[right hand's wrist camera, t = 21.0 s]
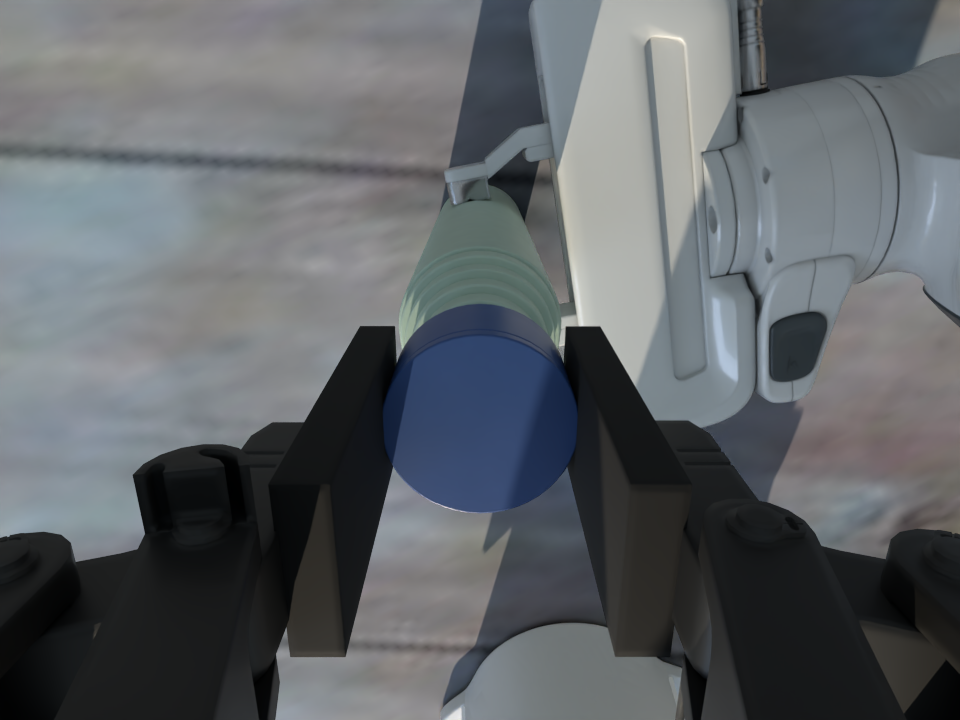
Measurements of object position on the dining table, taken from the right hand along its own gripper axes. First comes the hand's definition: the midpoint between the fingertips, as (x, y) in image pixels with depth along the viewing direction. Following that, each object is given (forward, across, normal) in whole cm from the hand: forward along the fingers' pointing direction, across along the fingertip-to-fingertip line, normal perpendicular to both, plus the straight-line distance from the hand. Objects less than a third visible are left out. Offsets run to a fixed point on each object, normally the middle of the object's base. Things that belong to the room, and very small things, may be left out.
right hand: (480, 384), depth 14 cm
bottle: (+23, 0, 0) cm, 23 cm away
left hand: (+16, -1, 0) cm, 16 cm away
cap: (-2, 0, 0) cm, 2 cm away
